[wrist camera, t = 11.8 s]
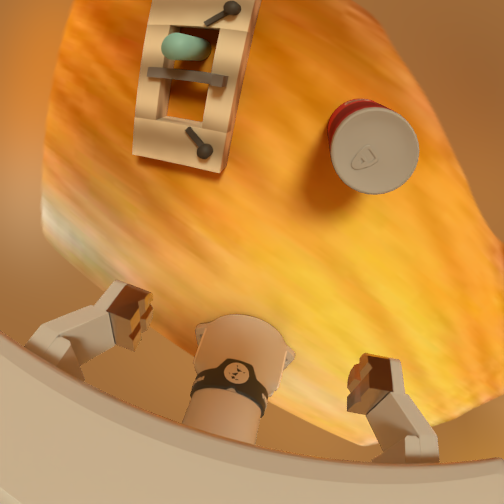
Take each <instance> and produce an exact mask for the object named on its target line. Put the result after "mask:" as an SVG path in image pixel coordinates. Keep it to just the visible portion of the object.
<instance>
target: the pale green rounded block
mask: <svg viewBox="0 0 504 504" xmlns="http://www.w3.org/2000/svg"><path fill="white" fill-rule="evenodd" d="M161 51H162V54H163V55H164V56H165V57H166V58H167V59H170V60H189V61H202V60H204V59H206V58H207V57H208V56H209V55H210V53H211V45H210V43H209V42H208V41H207V40H206V39H203V38H199V37H195V36H191V35H186V34H182V33H172V34H169V35H168V36H167V37H165V39H164V40H163V42H162V45H161Z"/></svg>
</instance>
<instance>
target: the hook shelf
mask: <svg viewBox="0 0 504 504" xmlns="http://www.w3.org/2000/svg"><path fill="white" fill-rule="evenodd" d="M260 4H261V0H153V1H152V5H151V10H150V15H149V20H148V25H147V30H146V36H145V42H144V48H143V54H142V61H141V68H140V75H139V83H138V91H137V100H136V110H135V122H134V135H133V151H132V154H133V155H138V156H143V157H148V158H153V159H158V160H163V161H167V162H172V163H177V164H181V165H186V166H190V167H195V168H199V169H203V170H207V171H212V172H216V173H220V172H221V171H222V170H223V169H224V168H225V167H226V166H227V160H228V155H229V149H230V144H231V139H232V134H233V128H234V123H235V118H236V113H237V108H238V103H239V98H240V93H241V88H242V84H243V79H244V74H245V69H246V65H247V60H248V56H249V51H250V47H251V42H252V38H253V33H254V29H255V25H256V20H257V16H258V12H259V8H260ZM181 27H183V28H199V29H211V30H220V32H219V37H218V41H217V46H216V51H215V56H214V61H213V66H212V71H211V73H207V72H199V71H191V70H182V69H173V68H174V62H175V60H170V59H167V58H166V57H165V56H164V55H163V54H162V51H161V45H162V42H163V40H164V39H165V37H167V36H168V35H169V34H172V33H180V29H181ZM172 79H176V80H185V81H193V82H200V83H207V84H209V88H208V93H207V99H206V105H205V111H204V117H203V122H198V121H192V120H187V119H181V118H175V117H169V116H167V109H168V101H169V94H170V87H171V80H172Z"/></svg>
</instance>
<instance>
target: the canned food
mask: <svg viewBox="0 0 504 504" xmlns="http://www.w3.org/2000/svg"><path fill="white" fill-rule="evenodd" d="M328 141H329V149H330V155H331V160H332V164H333V166H334V169H335V171H336V172H337V174H338V176H339V177H340V179H341V180H342V181H343V182H344V183H345V184H346V185H348V186H349V187H351V188H352V189H354V190H356V191H358V192H361V193H365V194H375V195H376V194H384V193H387V192H390V191H393V190H395V189H397V188H399V187H400V186H401V185H403V184H404V183H405V182H406V181H407V180H408V179H409V178H410V176H411V175H412V173H413V172H414V170H415V168H416V165H417V162H418V157H419V144H418V140H417V136H416V134H415V132H414V130H413V128H412V127H411V126H410V124H409V123H408V122H407V121H406V120H405V119H404V118H403V117H402V116H401V115H399V114H398V113H396V112H394V111H393V110H391V109H389V108H387V107H385V106H383V105H381V104H378V103H376V102H374V101H372V100H368V99H353V100H350V101H347V102H345V103H343V104H342V105H340V106H339V107H338V108H337V109H336V110H335V111H334V113H333V114H332V116H331V118H330V120H329V124H328Z"/></svg>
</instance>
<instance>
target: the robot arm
mask: <svg viewBox="0 0 504 504" xmlns="http://www.w3.org/2000/svg"><path fill="white" fill-rule="evenodd" d="M152 301H153V294H152V293H151V292H148V291H146V290H143V289H141V288H138V287H135V286H133V285H130V284H127V283H125V282H122V281H120V280H116V281H114V282H113V283H112V284H111V285H110V287H109V288H108V289H107V290H106V292H105V293H104V294H103V295H102V297H101V298H100V299H99V300H98V302H97V303H96V304H95V305H94V306H92V305H89V306H87V307H84V308H82V309H79V310H77V311H74V312H72V313H69V314H67V315H64V316H62V317H59V318H57V319H54V320H52V321H49V322H47V323H44V324H42V325H41V326H40V327H39V328H38V330H37V331H36V332H35V333H34V335H33V336H32V337H31V338H30V340H29V341H28V342H27V343H26V345H25V346H22V345H20V344H19V343H18V342H16V341H15V340H13V339H12V338H10V337H9V336H7V335H6V334H4V333H3V332H2V331H0V504H504V460H503V459H502V458H489V459H481V460H472V461H462V462H447V463H440V462H439V450H438V440H437V435H436V434H435V432H434V431H433V429H432V428H431V426H430V425H429V423H428V422H427V421H426V419H425V418H424V416H423V415H422V413H421V412H420V411H419V409H418V408H417V406H416V405H415V404H414V402H413V401H412V399H411V398H410V397H409V395H408V394H405V389H404V381H403V374H402V367H401V362H400V360H398V359H393V358H387V357H383V356H378V355H373V354H368V353H364V354H363V355H362V356H361V357H360V363H359V364H356V365H354V367H353V368H352V369H351V371H350V374H349V377H348V385H347V388H348V389H349V391H350V392H351V393H350V395H349V396H348V397H347V412H353V413H358V414H364V415H366V417H367V419H368V422H369V424H370V426H371V428H372V430H373V432H374V434H375V436H376V438H377V440H378V442H379V444H380V446H381V448H382V450H383V453H381V454H379V455H378V456H376V457H375V458H373V459H372V462H360V461H349V460H339V459H331V458H323V457H316V456H309V455H304V454H298V453H292V452H287V451H282V450H276V449H271V448H267V447H263V446H258V445H255V444H256V438H257V432H258V426H259V421H260V418H261V417H262V416H263V415H264V411H265V409H266V407H267V399H268V396H269V397H271V396H272V394H273V392H274V391H276V390H277V388H278V387H279V385H280V381H281V377H282V373H283V370H284V369H285V368H286V367H287V366H288V365H289V364H290V363H291V362H292V361H293V360H294V358H295V352H294V351H293V350H292V349H291V348H290V347H288V346H287V345H286V343H285V342H284V340H283V337H282V336H281V334H280V333H279V332H278V331H277V330H276V329H275V328H274V327H273V326H271V325H270V324H268V323H267V322H265V321H263V320H260V319H258V318H255V317H251V316H247V315H237V314H235V315H226V316H222V317H220V318H217V319H216V320H214V321H212V322H210V323H204V324H199V325H197V326H196V329H195V333H196V339H197V344H198V349H197V352H196V355H195V357H194V361H193V364H194V365H195V370H196V373H197V377H196V380H195V381H194V383H193V386H192V391H191V394H190V396H191V401H190V403H189V406H188V408H187V411H186V414H185V416H184V419H183V421H182V423H179V422H176V421H173V420H170V419H167V418H165V417H162V416H160V415H157V414H154V413H152V412H149V411H147V410H144V409H142V408H139V407H137V406H134V405H132V404H130V403H127V402H125V401H123V400H121V399H119V398H116V397H114V396H112V395H110V394H108V393H106V392H104V391H102V390H99V389H97V388H95V387H93V386H91V385H89V384H87V383H85V382H84V380H85V379H84V375H83V373H82V371H81V368H80V366H81V365H82V364H84V363H86V362H87V361H89V360H91V359H93V358H94V357H96V356H98V355H99V354H101V353H103V352H105V351H106V350H108V349H110V348H111V347H113V346H115V344H116V345H119V346H121V347H124V348H126V349H129V350H132V351H135V349H136V348H137V346H138V345H139V343H140V341H141V340H142V336H141V333H143V332H145V331H147V329H148V328H149V326H150V323H151V320H152V317H153V307H152V306H151V302H152Z"/></svg>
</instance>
